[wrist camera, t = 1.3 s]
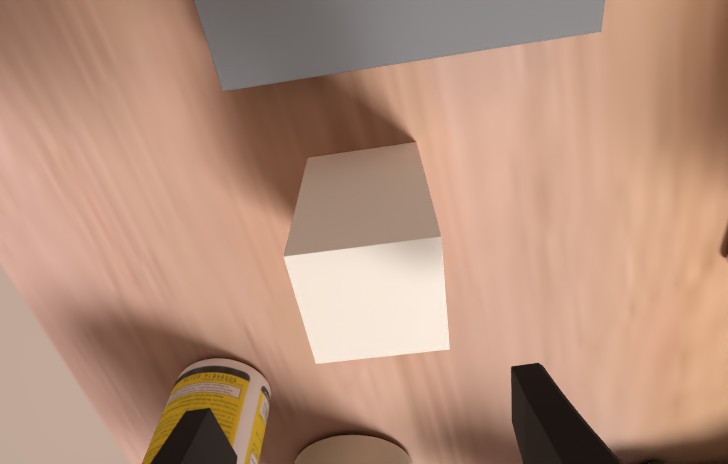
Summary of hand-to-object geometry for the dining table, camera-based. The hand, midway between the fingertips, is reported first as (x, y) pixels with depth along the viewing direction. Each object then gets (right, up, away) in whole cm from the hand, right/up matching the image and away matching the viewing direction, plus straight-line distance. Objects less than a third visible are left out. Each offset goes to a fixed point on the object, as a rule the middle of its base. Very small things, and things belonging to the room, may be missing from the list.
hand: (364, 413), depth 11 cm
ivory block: (0, +6, +9) cm, 11 cm away
